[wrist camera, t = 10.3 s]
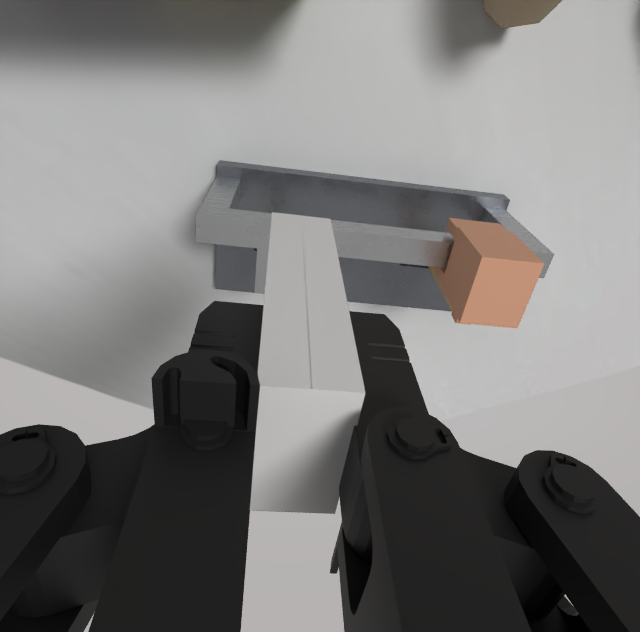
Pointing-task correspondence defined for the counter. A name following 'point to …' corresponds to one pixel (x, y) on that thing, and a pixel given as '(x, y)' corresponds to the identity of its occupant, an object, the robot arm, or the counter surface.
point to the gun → (518, 11)
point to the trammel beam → (339, 234)
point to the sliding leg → (487, 274)
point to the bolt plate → (352, 206)
